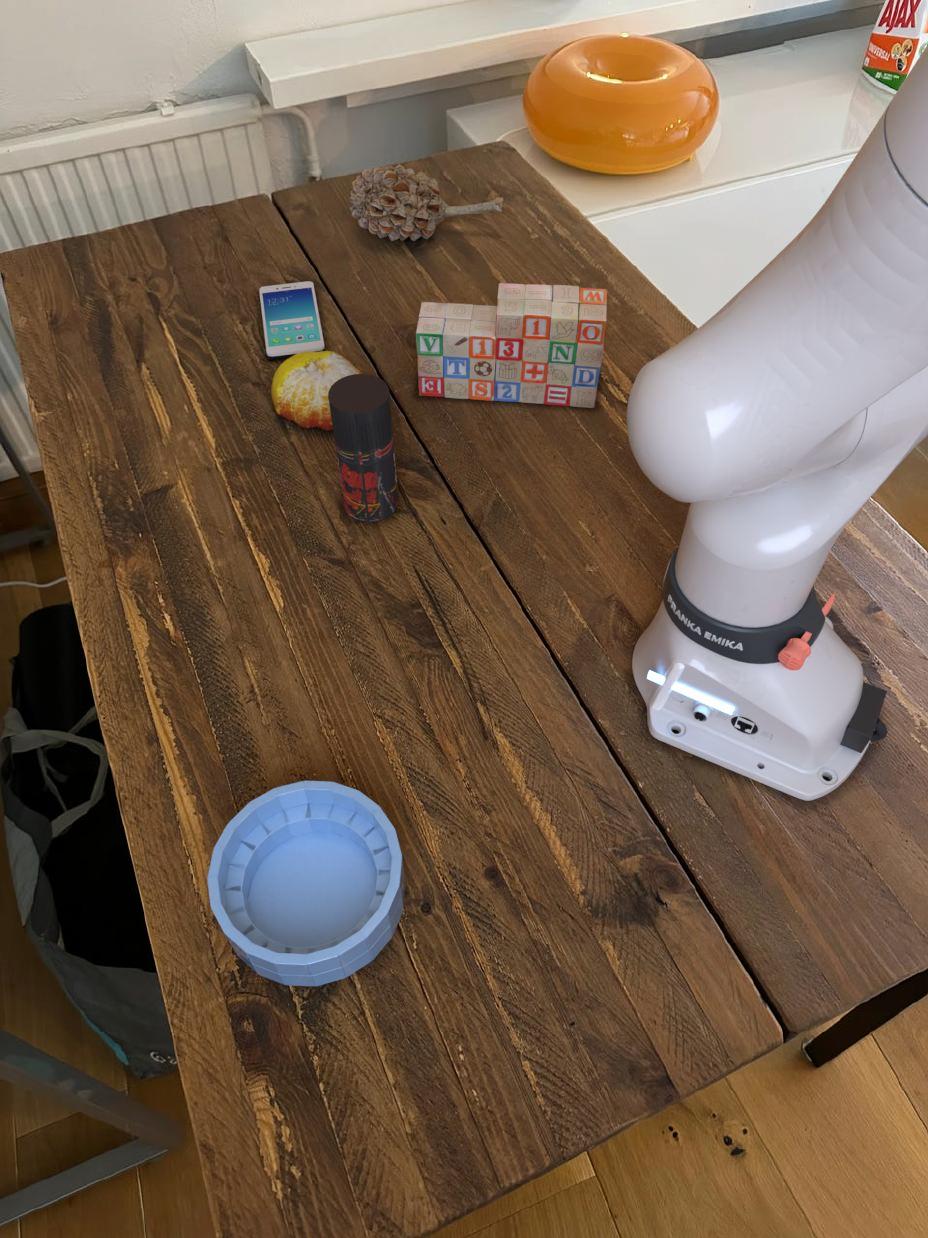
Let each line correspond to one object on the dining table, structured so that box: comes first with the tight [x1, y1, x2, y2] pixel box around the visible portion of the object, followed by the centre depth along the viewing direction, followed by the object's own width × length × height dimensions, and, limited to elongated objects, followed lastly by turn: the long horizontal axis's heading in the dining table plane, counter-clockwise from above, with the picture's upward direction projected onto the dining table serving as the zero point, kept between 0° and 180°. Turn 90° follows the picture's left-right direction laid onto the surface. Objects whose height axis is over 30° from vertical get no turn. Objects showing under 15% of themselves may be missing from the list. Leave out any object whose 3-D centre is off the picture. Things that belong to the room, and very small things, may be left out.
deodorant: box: [328, 373, 399, 523], centre depth 98 cm, size 6×6×15 cm
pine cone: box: [348, 163, 508, 242], centre depth 132 cm, size 22×10×10 cm, turn 94°
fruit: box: [270, 350, 363, 432], centre depth 111 cm, size 11×10×8 cm
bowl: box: [206, 780, 407, 987], centre depth 74 cm, size 15×15×6 cm
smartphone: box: [258, 280, 326, 361], centre depth 123 cm, size 8×1×15 cm
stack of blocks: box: [415, 282, 608, 409], centre depth 111 cm, size 21×6×12 cm, turn 84°
